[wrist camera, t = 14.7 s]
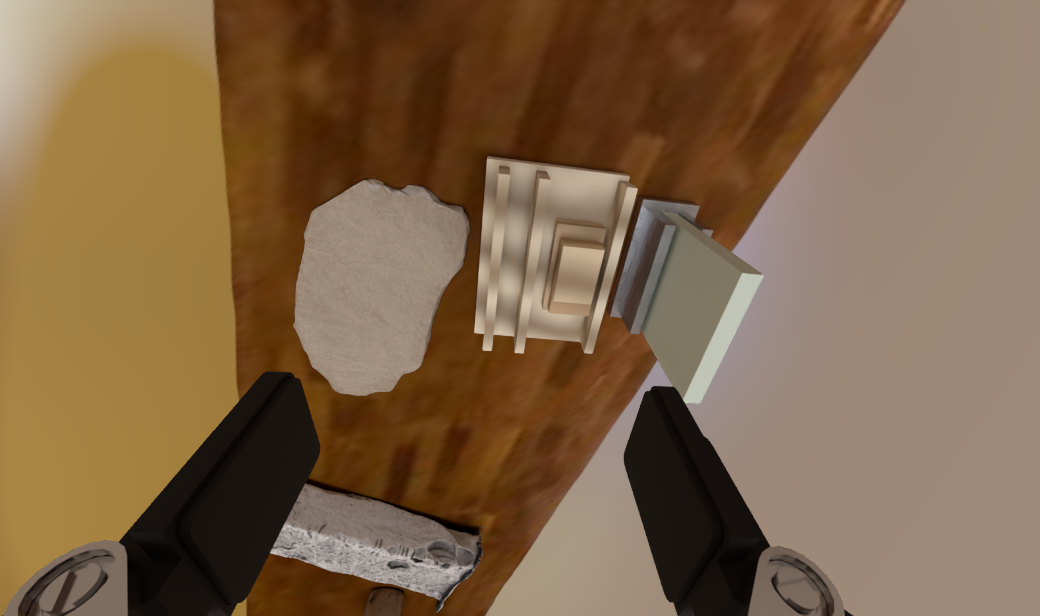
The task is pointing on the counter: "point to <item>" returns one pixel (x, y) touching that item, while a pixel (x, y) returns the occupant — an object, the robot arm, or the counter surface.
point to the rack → (543, 246)
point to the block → (384, 603)
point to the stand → (646, 257)
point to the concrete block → (377, 542)
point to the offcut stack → (573, 267)
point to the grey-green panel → (696, 307)
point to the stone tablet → (375, 282)
